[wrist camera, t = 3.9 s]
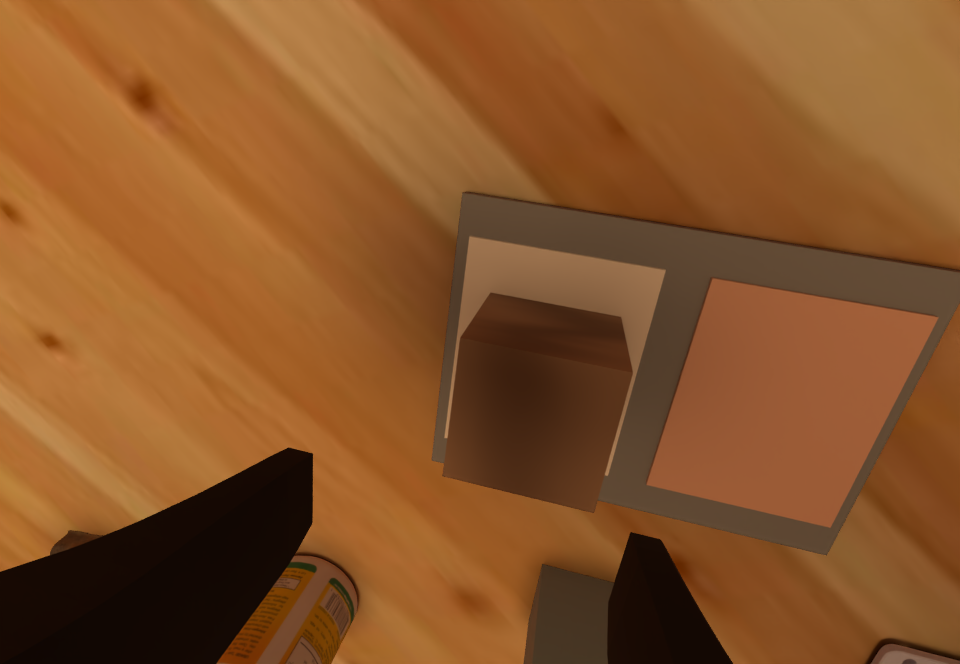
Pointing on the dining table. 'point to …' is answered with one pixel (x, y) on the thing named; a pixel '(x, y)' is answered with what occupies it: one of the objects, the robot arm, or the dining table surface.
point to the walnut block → (537, 400)
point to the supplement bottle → (298, 617)
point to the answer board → (720, 357)
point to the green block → (568, 619)
